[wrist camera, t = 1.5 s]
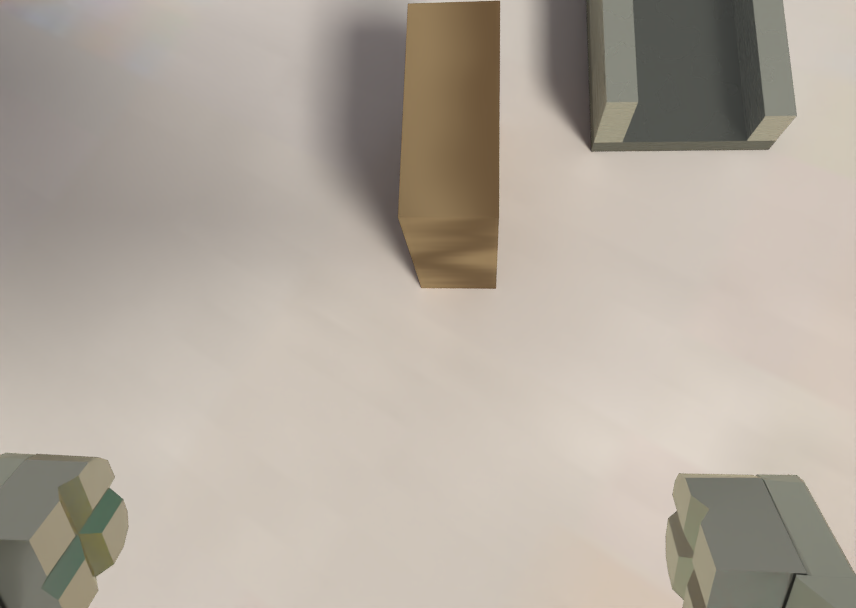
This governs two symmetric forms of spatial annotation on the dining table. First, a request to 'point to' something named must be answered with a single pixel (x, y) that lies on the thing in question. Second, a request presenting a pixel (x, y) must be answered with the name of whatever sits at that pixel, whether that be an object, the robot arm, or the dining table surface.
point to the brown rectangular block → (451, 143)
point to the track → (688, 74)
